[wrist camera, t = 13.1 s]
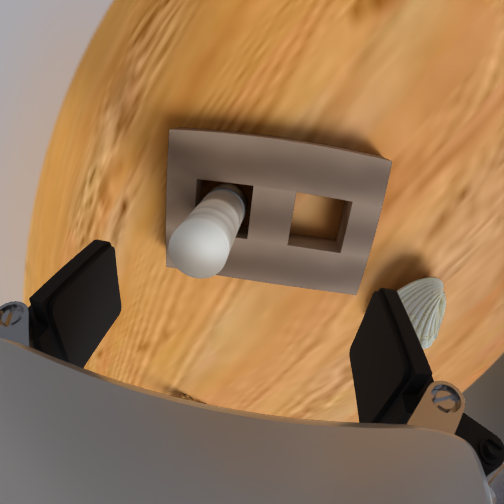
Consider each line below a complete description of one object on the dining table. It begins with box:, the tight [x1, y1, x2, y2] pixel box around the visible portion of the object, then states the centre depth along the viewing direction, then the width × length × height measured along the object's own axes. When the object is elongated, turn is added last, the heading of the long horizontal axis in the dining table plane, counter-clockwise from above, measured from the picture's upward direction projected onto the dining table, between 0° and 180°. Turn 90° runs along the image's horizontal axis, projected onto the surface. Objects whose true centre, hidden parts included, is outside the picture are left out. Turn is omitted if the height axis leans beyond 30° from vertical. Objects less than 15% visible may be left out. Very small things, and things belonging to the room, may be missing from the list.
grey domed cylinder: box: [168, 184, 247, 278], centre depth 25 cm, size 4×4×12 cm
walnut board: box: [166, 128, 392, 295], centre depth 29 cm, size 14×20×3 cm
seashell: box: [397, 277, 446, 349], centre depth 31 cm, size 8×8×8 cm
